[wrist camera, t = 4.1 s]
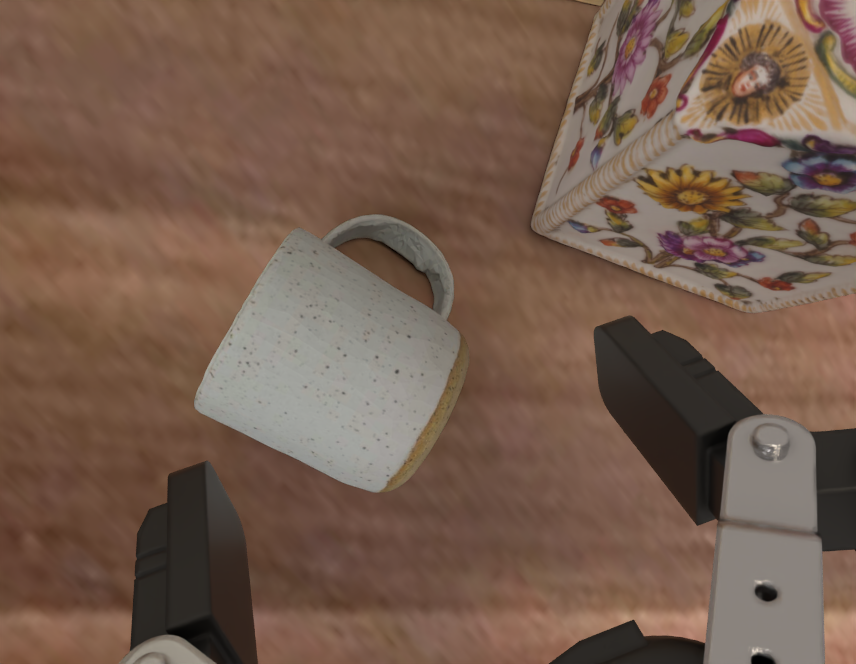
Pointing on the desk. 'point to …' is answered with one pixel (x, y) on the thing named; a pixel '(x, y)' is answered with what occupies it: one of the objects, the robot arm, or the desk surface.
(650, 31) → the decorative jar
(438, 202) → the desk surface
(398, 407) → the ceramic mug
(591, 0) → the ash rail
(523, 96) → the desk surface
